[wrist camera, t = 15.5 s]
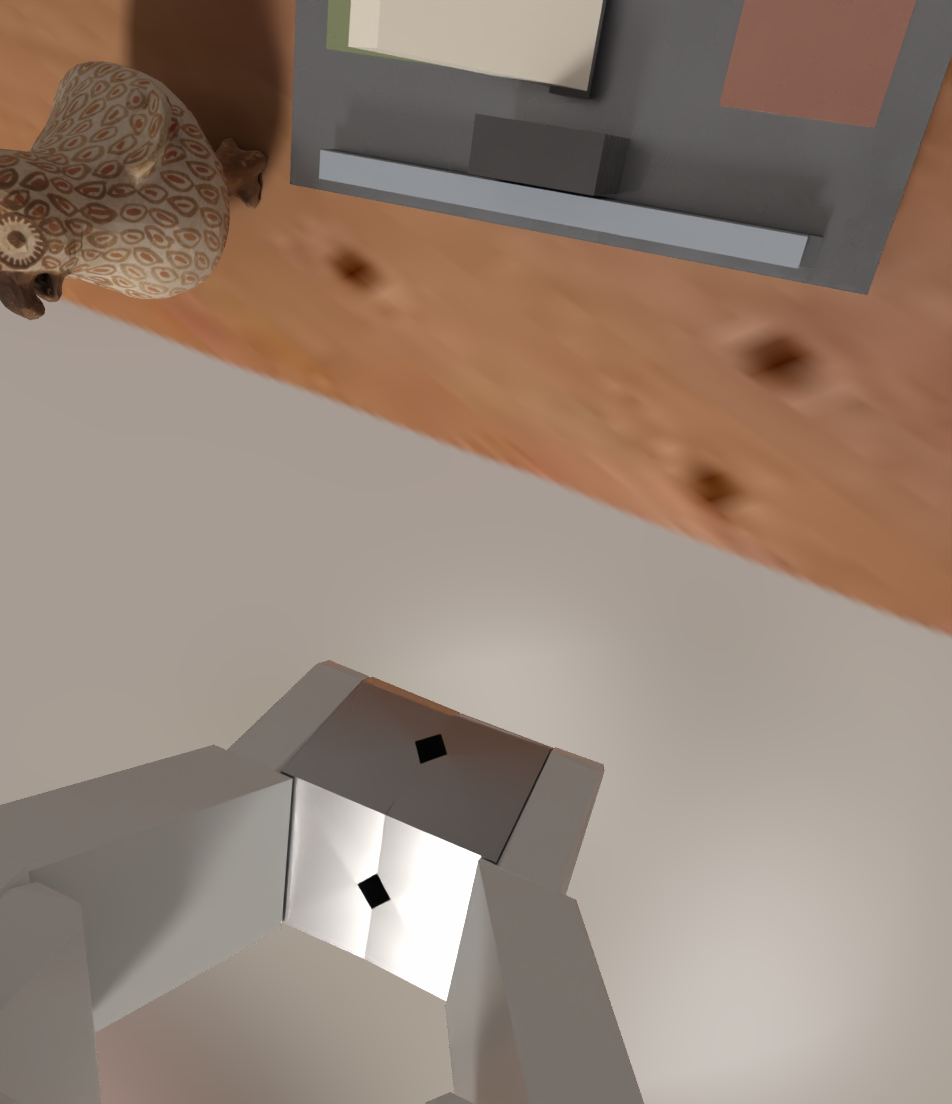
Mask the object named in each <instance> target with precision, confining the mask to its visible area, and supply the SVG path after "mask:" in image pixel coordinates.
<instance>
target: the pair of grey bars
mask: <svg viewBox="0 0 952 1104" xmlns="http://www.w3.org/2000/svg"><path fill="white" fill-rule="evenodd" d="M319 179H324V180H330V181H335V182H340V183H345V184H351V185H356V186H361V187H367V188H372V189H377V190H383V191H388V192H393V193H399V194H404V195H409V196H414V197H420V198H425V199H430V200H436V201H441V202H446V203H452V204H457V205H462V206H468V207H473V208H478V209H483V210H489V211H494V212H499V213H505V214H510V215H515V216H521V217H526V218H531V219H537V220H542V221H547V222H552V223H558V224H563V225H568V226H574V227H579V228H584V229H590V230H595V231H600V232H606V233H611V234H616V235H621V236H627V237H632V238H637V239H643V240H648V241H653V242H659V243H664V244H669V245H675V246H680V247H685V248H690V249H696V250H701V251H706V252H712V253H717V254H722V255H728V256H733V257H738V258H744V259H749V260H754V261H759V262H765V263H770V264H775V265H781V266H786V267H791V268H797V269H798V268H799V266H802V267H807V268H812V269H814V266H815V263H816V260H817V257H818V253H819V250H820V247H821V244H822V241H823V236H822V235H816V234H810V233H805V232H799V231H793V230H788V229H782V228H776V227H771V226H765V225H760V224H754V223H748V222H743V221H737V220H731V219H726V218H720V217H714V216H709V215H703V214H697V213H692V212H686V211H681V210H675V209H669V208H664V207H658V206H652V205H647V204H641V203H635V202H630V201H624V200H618V199H613V198H607V197H602V196H592V195H586V194H581V193H575V192H569V191H564V190H558V189H552V188H547V187H541V186H535V185H530V184H524V183H519V182H513V181H507V180H502V179H496V178H490V177H485V176H479V175H474V174H468V173H466V172H461V171H455V170H449V169H444V168H438V167H432V166H427V165H421V164H415V163H410V162H404V161H398V160H393V159H387V158H382V157H376V156H370V155H365V154H359V153H353V152H348V151H342V150H336V149H322V150H320V168H319Z"/></svg>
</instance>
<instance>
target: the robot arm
mask: <svg viewBox="0 0 952 1104" xmlns="http://www.w3.org/2000/svg"><path fill="white" fill-rule="evenodd" d="M603 774H604V765H603V764H601V763H598V762H595V761H592V760H590V759H587V758H584V757H581V756H578V755H576V754H573V753H570V752H567V751H564V750H561V749H559V748H552V747H549V746H547V745H544V744H542V743H539V742H536V741H533V740H531V739H528V738H525V737H523V736H520V735H517V734H515V733H512V732H509V731H507V730H504V729H502V728H499V727H496V726H493V725H491V724H488V723H486V722H483V721H480V720H478V719H475V718H472V717H469V716H467V715H464V714H460V713H459V712H457V711H455V710H452V709H450V708H447V707H445V706H442V705H440V704H438V703H435V702H433V701H430V700H428V699H425V698H423V697H420V696H418V695H415V694H413V693H411V692H408V691H406V690H403V689H401V688H398V687H396V686H394V685H391V684H389V683H386V682H384V681H381V680H379V679H376V678H374V677H371V678H370V677H368V676H367V675H365V674H362V673H360V672H357V671H355V670H352V669H350V668H347V667H345V666H342V665H340V664H337V663H335V662H332V661H330V660H328V661H325V662H321V663H318V664H317V665H315V666H314V667H313V668H312V669H311V670H310V671H309V672H308V673H307V674H306V675H305V676H304V677H302V678H301V679H300V681H298V682H297V683H296V684H295V685H294V686H293V687H292V688H291V689H290V690H289V691H288V692H287V693H286V694H285V695H284V696H283V697H282V698H281V699H280V700H279V701H278V702H277V703H275V704H274V705H273V706H272V707H271V708H270V709H269V710H268V711H267V712H266V713H265V714H264V715H263V716H262V717H261V718H260V719H259V720H258V721H257V722H256V723H255V724H254V725H253V726H252V727H251V728H250V729H248V730H247V731H246V732H245V733H244V734H243V735H242V736H241V737H240V738H239V739H238V740H237V741H236V742H235V743H234V744H233V745H232V746H231V747H230V748H229V749H228V750H224V749H223V748H220V747H217V746H215V745H211V746H208V747H205V748H201V749H197V750H194V751H190V752H187V753H183V754H180V755H176V756H172V757H169V758H165V759H162V760H158V761H155V762H151V763H148V764H144V765H141V766H137V767H134V768H130V769H126V770H123V771H119V772H116V773H112V774H109V775H105V776H102V777H98V778H95V779H91V780H88V781H84V782H81V783H77V784H73V785H70V786H66V787H63V788H59V789H56V790H52V791H49V792H45V793H42V794H38V795H35V796H31V797H27V798H24V799H20V800H17V801H13V802H10V803H6V804H3V805H0V1104H101V1086H100V1076H99V1068H98V1059H97V1058H98V1057H97V1048H96V1039H95V1032H97V1031H99V1030H100V1029H102V1028H104V1027H106V1026H108V1025H109V1024H111V1023H113V1022H115V1021H116V1020H118V1019H120V1018H122V1017H124V1016H126V1015H127V1014H129V1013H131V1012H133V1011H134V1010H136V1009H138V1008H140V1007H142V1006H143V1005H145V1004H147V1003H149V1002H151V1001H152V1000H154V999H156V998H158V997H159V996H161V995H163V994H165V993H167V992H168V991H170V990H172V989H174V988H176V987H177V986H179V985H181V984H183V983H184V982H186V981H188V980H190V979H192V978H193V977H195V976H197V975H199V974H201V973H202V972H204V971H206V970H208V969H210V968H211V967H213V966H215V965H217V964H219V963H220V962H222V961H224V960H226V959H227V958H229V957H231V956H233V955H235V954H236V953H238V952H240V951H242V950H243V949H245V948H247V947H249V946H251V945H252V944H254V943H256V942H258V941H260V940H261V939H263V938H265V937H267V936H269V935H270V934H272V933H274V932H275V931H277V930H279V929H281V927H282V923H285V924H287V925H289V926H292V927H294V928H296V929H298V930H300V931H303V932H305V933H307V934H310V935H312V936H314V937H316V938H319V939H321V940H323V941H325V942H328V943H330V944H332V945H334V946H337V947H339V948H341V949H344V950H346V951H348V952H350V953H352V954H355V955H357V956H359V957H361V958H365V959H366V960H367V961H370V962H371V963H374V964H375V965H378V966H379V967H381V968H383V969H385V970H387V971H389V972H391V973H393V974H395V975H397V976H399V977H401V978H403V979H404V980H406V981H408V982H410V983H412V984H414V985H416V986H418V987H420V988H422V989H424V990H426V991H428V992H430V993H432V994H434V995H436V996H437V997H440V998H441V999H443V1000H446V1005H445V1009H446V1019H447V1028H448V1038H449V1048H450V1058H451V1067H452V1077H453V1087H454V1094H453V1093H451V1092H450V1093H447V1094H445V1095H442V1096H440V1097H438V1098H436V1099H433V1100H431V1101H428V1102H426V1104H644V1102H643V1099H642V1096H641V1093H640V1090H639V1087H638V1084H637V1081H636V1078H635V1075H634V1072H633V1069H632V1066H631V1063H630V1060H629V1057H628V1054H627V1051H626V1048H625V1045H624V1042H623V1039H622V1036H621V1033H620V1030H619V1027H618V1024H617V1021H616V1018H615V1015H614V1012H613V1009H612V1006H611V1003H610V1000H609V997H608V994H607V991H606V988H605V985H604V982H603V979H602V976H601V973H600V970H599V967H598V964H597V961H596V958H595V955H594V952H593V949H592V946H591V943H590V940H589V937H588V934H587V931H586V928H585V925H584V922H583V919H582V916H581V913H580V910H579V907H578V904H577V901H576V900H575V899H573V898H571V897H568V896H566V892H567V889H568V886H569V883H570V880H571V876H572V873H573V870H574V867H575V864H576V861H577V857H578V854H579V851H580V848H581V844H582V841H583V838H584V835H585V832H586V828H587V826H588V822H589V819H590V816H591V813H592V810H593V806H594V803H595V800H596V796H597V793H598V790H599V787H600V784H601V781H602V778H603Z"/></svg>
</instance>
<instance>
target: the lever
mask: <svg viewBox="0 0 952 1104" xmlns="http://www.w3.org/2000/svg"><path fill="white" fill-rule="evenodd" d="M605 5H606V0H351V9H350V26H349V43H348V47H353V48H358V49H363V50H368V51H373V52H378V53H383V54H388V55H393V56H398V57H403V58H408V59H413V60H418V61H423V62H428V63H433V64H438V65H443V66H448V67H453V68H458V69H463V70H468V71H473V72H478V73H483V74H488V75H493V76H498V77H503V78H508V79H513V80H518V81H523V82H528V83H533V84H538V85H543V86H548V87H549V93H551V94H556V95H562V96H568V97H574V98H582V99H589V94H590V89H591V83H592V78H593V72H594V66H595V61H596V55H597V50H598V44H599V39H600V33H601V28H602V22H603V16H604V11H605Z"/></svg>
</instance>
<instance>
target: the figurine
mask: <svg viewBox="0 0 952 1104" xmlns="http://www.w3.org/2000/svg"><path fill="white" fill-rule="evenodd" d="M266 161H267V158H266V156H265V155H264V154H263V153H261V152H260V151H259V150H254V151H245V150H242V149H240V148H239V146H238V144H237V143H236V142H235V141H234V140H233V139H232V138H226V139H225V140H224V141H222V143H221V146H220V147H219V149H218V150H216V151H215V152H214V151H213V150H212V148H211V146H210V144H209V142H208V141H207V139H206V137H205V135H204V133H203V132H202V129H201V127H200V125H199V123H198V121H197V120H196V118H195V117H194V116H193V114H192V113H191V111H190V110H189V109H188V107H187V106H186V105H185V104H184V103H183V102H182V101H181V100H180V99H179V98H178V97H177V96H176V95H175V94H174V93H173V92H172V91H171V90H170V89H168V88H167V87H166V86H165V85H164V84H163V83H162V82H160V81H159V80H157V79H155V78H153V77H152V76H149V75H147V74H145V73H142V72H140V71H137V70H135V69H132V68H128V67H125V66H121V65H118V64H114V63H108V62H86V63H82V64H78V65H76V66H75V67H73V68H72V69H70V70H69V71H68V72H67V73H66V74H65V76H64V77H63V79H62V80H61V82H60V84H59V86H58V89H57V91H56V94H55V98H54V102H53V106H52V111H51V114H50V116H49V119H48V121H47V124H46V126H45V127H44V129H43V131H42V132H41V134H40V135H39V136H38V138H37V139H36V141H35V143H34V144H33V146H32V148H31V150H30V152H25V151H17V150H7V149H0V300H1V302H2V303H3V304H4V306H5V307H7V308H8V309H9V310H11V311H12V312H14V313H15V314H18V315H20V316H22V317H25V318H27V319H29V320H33V319H38V318H39V317H41V316H42V315H44V313H45V308H44V305H43V303H42V302H41V300H40V299H39V298H38V297H37V295H38V296H39V297H41V298H42V299H44V300H47V301H49V302H57V301H58V300H59V299H60V297H61V295H62V283H63V280H64V279H67V278H78V279H82V280H85V281H87V282H90V283H92V284H95V285H98V286H101V287H103V288H106V289H111V290H115V291H117V292H119V293H121V294H123V295H126V296H131V297H136V298H144V299H164V298H168V297H171V296H174V295H177V294H180V293H182V292H185V291H187V290H190V289H192V288H194V287H196V286H197V285H199V284H200V283H202V282H203V281H204V280H205V279H206V278H207V277H208V276H209V275H210V274H211V273H212V271H213V270H214V268H215V267H216V265H217V263H218V261H219V259H220V257H221V255H222V252H223V250H224V247H225V244H226V240H227V236H228V230H229V221H230V209H229V199H228V195H236V196H237V197H239V198H240V199H241V200H242V201H243V202H244V203H245V205H246V206H247V207H249V208H254V209H255V208H256V207H257V205H258V203H259V199H258V195H259V193H260V187H261V185H260V184H259V182H258V181H257V180H258V175H259V174H260V173H261V171H262V170H263V168H264V167H265V164H266Z"/></svg>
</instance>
